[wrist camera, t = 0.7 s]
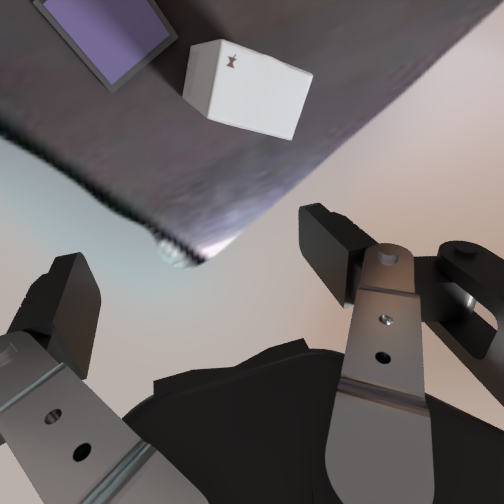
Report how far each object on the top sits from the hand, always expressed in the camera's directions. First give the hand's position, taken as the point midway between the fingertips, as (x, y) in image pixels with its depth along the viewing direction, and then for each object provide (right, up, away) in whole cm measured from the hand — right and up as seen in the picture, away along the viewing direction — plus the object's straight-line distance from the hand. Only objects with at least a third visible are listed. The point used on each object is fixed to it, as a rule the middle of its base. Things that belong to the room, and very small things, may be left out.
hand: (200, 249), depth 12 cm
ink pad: (-9, +18, +12) cm, 23 cm away
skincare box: (-1, +15, +17) cm, 23 cm away
